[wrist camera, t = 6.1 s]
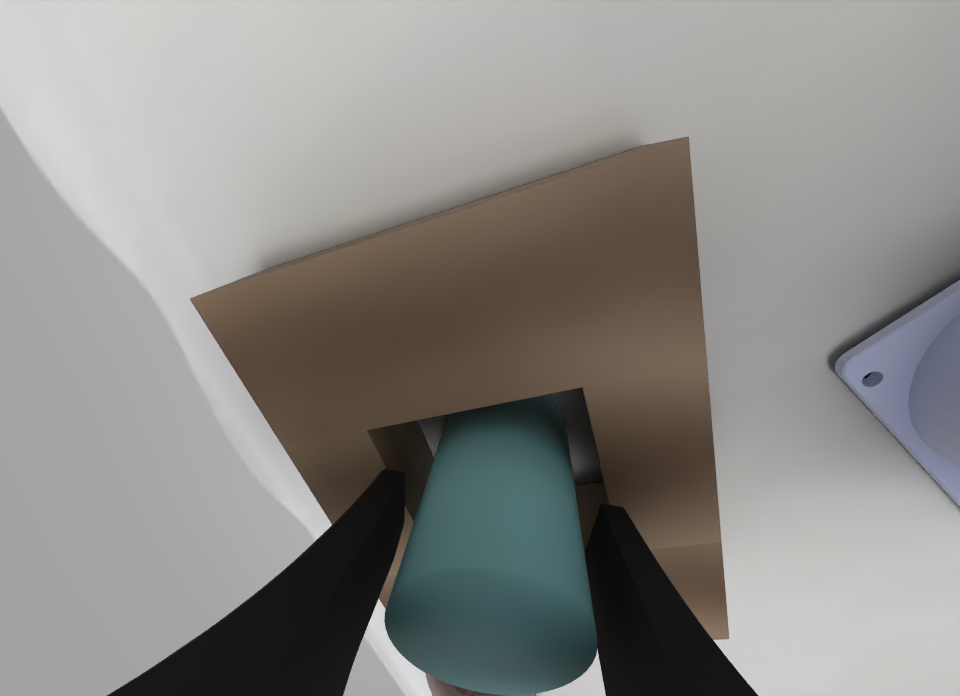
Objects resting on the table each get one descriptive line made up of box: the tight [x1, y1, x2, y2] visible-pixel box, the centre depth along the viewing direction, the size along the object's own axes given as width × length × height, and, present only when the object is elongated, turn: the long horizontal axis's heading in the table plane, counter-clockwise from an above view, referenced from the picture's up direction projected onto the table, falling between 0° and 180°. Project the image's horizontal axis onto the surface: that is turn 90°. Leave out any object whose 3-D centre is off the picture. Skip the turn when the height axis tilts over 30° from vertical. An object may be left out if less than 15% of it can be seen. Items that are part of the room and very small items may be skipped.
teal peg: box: [385, 394, 597, 695], centre depth 11 cm, size 4×4×7 cm
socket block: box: [190, 137, 729, 640], centre depth 13 cm, size 16×12×3 cm
